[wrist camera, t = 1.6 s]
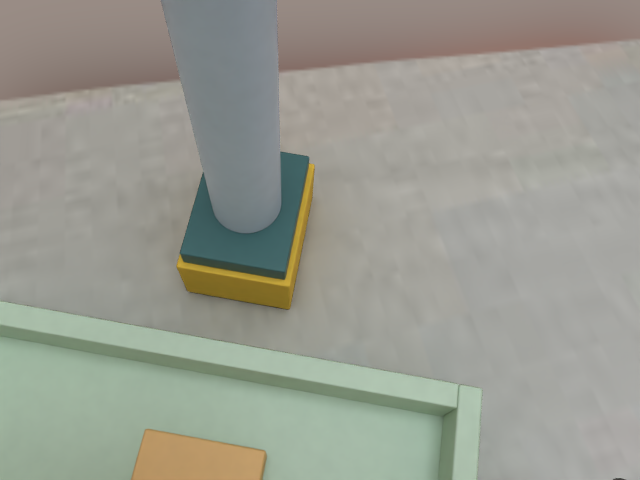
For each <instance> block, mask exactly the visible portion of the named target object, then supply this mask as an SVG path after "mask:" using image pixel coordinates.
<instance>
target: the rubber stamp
mask: <svg viewBox="0 0 640 480" xmlns="http://www.w3.org/2000/svg"><path fill="white" fill-rule="evenodd" d="M161 3H162V7H163V11H164V15H165V19H166V23H167V27H168V31H169V35H170V39H171V43H172V47H173V51H174V56H175V60H176V63H177V67H178V72H179V76H180V80H181V84H182V88H183V92H184V96H185V100H186V104H187V108H188V112H189V116H190V120H191V124H192V128H193V132H194V136H195V140H196V144H197V148H198V152H199V156H200V160H201V164H202V168H203V174H202V178H201V181H200V185H199V188H198V192H197V195H196V199H195V202H194V206H193V209H192V212H191V216H190V219H189V223H188V226H187V230H186V233H185V237H184V240H183V243H182V247H181V250H180V255H179V259H178V262H177V269H178V271H179V273H180V275H181V278H182V280H183V282H184V284H185V287H186V289H187V291H189V292H194V293H200V294H205V295H211V296H216V297H222V298H228V299H233V300H239V301H244V302H250V303H255V304H261V305H267V306H272V307H278V308H283V309H290V306H291V301H292V296H293V291H294V286H295V281H296V276H297V271H298V266H299V261H300V256H301V251H302V246H303V241H304V236H305V231H306V226H307V221H308V216H309V211H310V206H311V201H312V194H313V181H314V167H315V166H314V164H309V157H308V156H303V155H297V154H291V153H285V152H280V117H279V74H278V33H277V32H278V31H277V0H161Z"/></svg>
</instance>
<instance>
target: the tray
mask: <svg viewBox="0 0 640 480" xmlns="http://www.w3.org/2000/svg"><path fill="white" fill-rule="evenodd" d="M482 392H483V390H482V388H479V387H473V386H467V385H462V384H460V385H458V384H457V383H452V382H446V381H441V380H435V379H430V378H424V377H419V376H413V375H408V374H402V373H396V372H391V371H385V370H380V369H374V368H369V367H363V366H358V365H352V364H347V363H341V362H336V361H330V360H325V359H319V358H314V357H308V356H303V355H297V354H291V353H286V352H280V351H275V350H269V349H264V348H258V347H253V346H247V345H242V344H236V343H231V342H225V341H220V340H214V339H209V338H203V337H198V336H192V335H186V334H181V333H175V332H170V331H164V330H159V329H153V328H148V327H142V326H137V325H131V324H126V323H120V322H115V321H109V320H104V319H98V318H93V317H87V316H81V315H76V314H70V313H65V312H59V311H54V310H48V309H43V308H37V307H32V306H26V305H21V304H15V303H10V302H4V301H0V480H131V477H132V474H133V470H134V467H135V463H136V459H137V456H138V452H139V449H140V445H141V442H142V438H143V434H144V431H145V429H153V430H158V431H164V432H169V433H175V434H180V435H185V436H191V437H196V438H202V439H207V440H212V441H218V442H223V443H228V444H234V445H239V446H245V447H250V448H255V449H261V450H264V451H266V454H267V459H266V464H265V469H264V474H263V479H262V480H477V475H478V459H479V442H480V426H481V409H482Z"/></svg>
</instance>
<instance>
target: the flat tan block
mask: <svg viewBox="0 0 640 480" xmlns="http://www.w3.org/2000/svg"><path fill="white" fill-rule="evenodd" d="M266 459H267V454H266V451H264V450H261V449H255V448H250V447H245V446H239V445H234V444H228V443H223V442H218V441H212V440H207V439H202V438H196V437H191V436H185V435H180V434H175V433H169V432H164V431H158V430H153V429H145V431H144V434H143V438H142V442H141V445H140V449H139V452H138V456H137V459H136V463H135V467H134V470H133V474H132V477H131V480H262V479H263V474H264V469H265V464H266Z"/></svg>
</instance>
